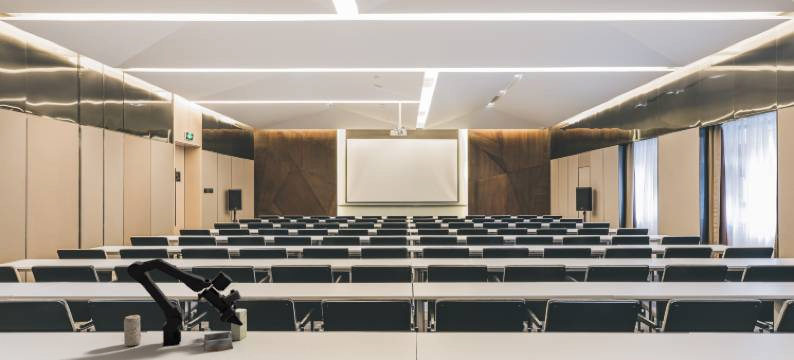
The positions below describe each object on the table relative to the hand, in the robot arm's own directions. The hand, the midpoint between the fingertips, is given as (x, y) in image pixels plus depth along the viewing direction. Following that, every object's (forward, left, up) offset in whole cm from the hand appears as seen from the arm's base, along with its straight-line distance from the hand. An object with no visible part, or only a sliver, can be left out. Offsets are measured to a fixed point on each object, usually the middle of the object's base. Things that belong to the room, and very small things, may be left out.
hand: (242, 322), depth 225 cm
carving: (-43, +7, -7) cm, 45 cm away
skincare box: (-1, 0, -7) cm, 7 cm away
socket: (-10, -8, -7) cm, 15 cm away
